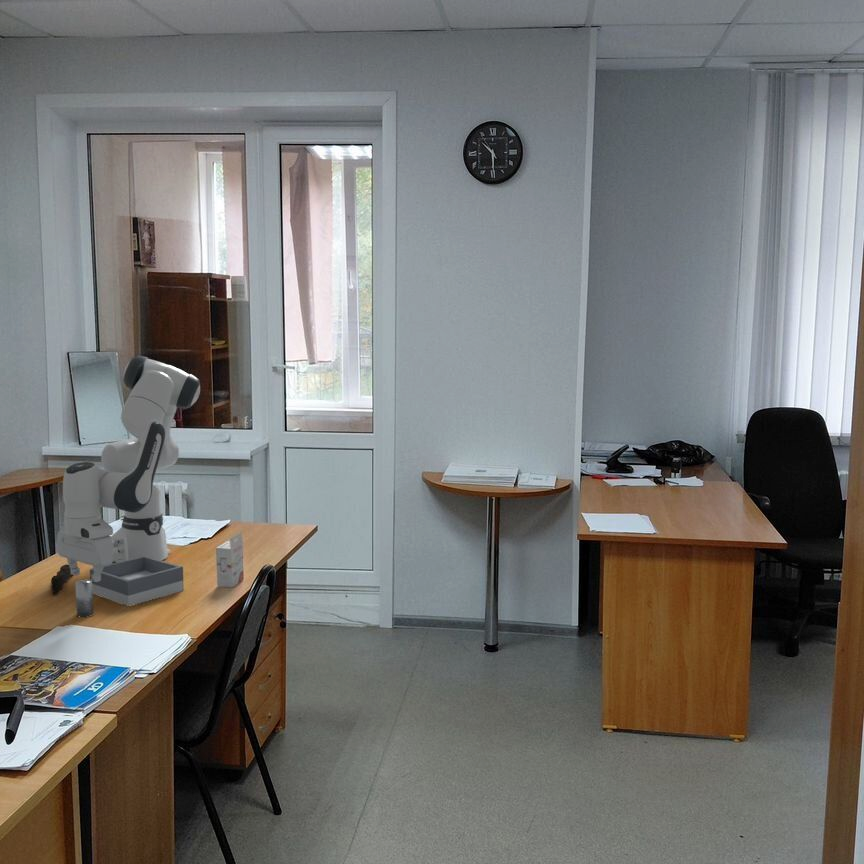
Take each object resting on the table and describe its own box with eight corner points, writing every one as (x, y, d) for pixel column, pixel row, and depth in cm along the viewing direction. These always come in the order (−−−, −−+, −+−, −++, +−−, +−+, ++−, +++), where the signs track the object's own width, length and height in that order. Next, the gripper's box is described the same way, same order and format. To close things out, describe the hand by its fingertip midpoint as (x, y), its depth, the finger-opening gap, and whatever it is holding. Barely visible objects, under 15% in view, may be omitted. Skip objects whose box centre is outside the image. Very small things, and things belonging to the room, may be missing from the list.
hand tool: (61, 577, 270) (60, 562, 269) (75, 576, 270) (74, 561, 270) (43, 597, 251) (42, 581, 251) (58, 596, 252) (57, 580, 251)
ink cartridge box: (228, 578, 269) (227, 530, 267) (244, 579, 268) (243, 531, 266) (216, 586, 261) (214, 537, 259) (232, 588, 260) (231, 538, 258)
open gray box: (90, 593, 254) (89, 569, 253) (145, 578, 268) (144, 555, 267) (128, 606, 243) (127, 581, 242) (183, 590, 257) (183, 566, 256)
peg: (73, 615, 236) (72, 582, 235) (87, 611, 239) (86, 578, 238) (82, 618, 233) (80, 585, 232) (96, 614, 237) (95, 581, 235)
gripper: (49, 522, 237) (52, 573, 238) (94, 534, 224) (97, 587, 226) (71, 518, 242) (74, 568, 243) (117, 529, 229) (119, 582, 231)
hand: (85, 578), depth 235 cm, fingers open, 8 cm apart
